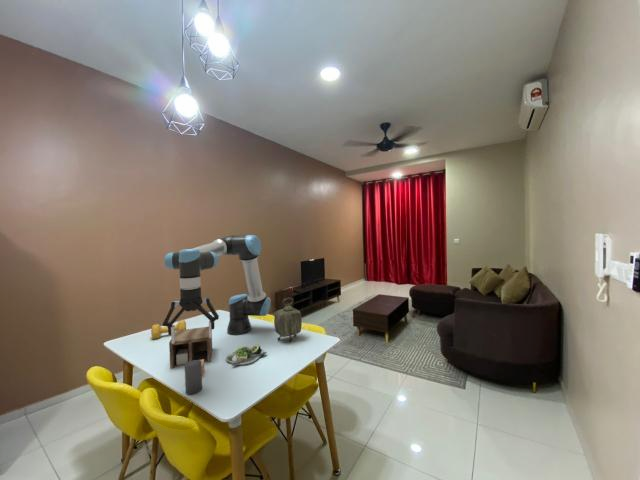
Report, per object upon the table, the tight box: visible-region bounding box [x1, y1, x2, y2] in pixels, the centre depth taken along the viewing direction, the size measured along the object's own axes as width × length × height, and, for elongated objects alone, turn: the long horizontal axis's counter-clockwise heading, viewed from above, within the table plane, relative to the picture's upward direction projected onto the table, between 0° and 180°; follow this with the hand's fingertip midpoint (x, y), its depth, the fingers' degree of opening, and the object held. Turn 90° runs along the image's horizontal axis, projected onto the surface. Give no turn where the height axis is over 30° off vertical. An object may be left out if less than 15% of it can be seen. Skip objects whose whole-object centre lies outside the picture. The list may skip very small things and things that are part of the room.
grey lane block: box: [175, 348, 189, 366], centre depth 129 cm, size 5×6×5 cm
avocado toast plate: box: [225, 344, 267, 367], centre depth 131 cm, size 19×18×5 cm
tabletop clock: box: [273, 297, 303, 342], centre depth 152 cm, size 14×9×25 cm, turn 122°
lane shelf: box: [168, 326, 213, 369], centre depth 133 cm, size 18×16×12 cm
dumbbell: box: [150, 319, 187, 340], centre depth 163 cm, size 19×9×8 cm, turn 117°
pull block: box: [184, 358, 205, 396], centre depth 111 cm, size 6×19×11 cm, turn 19°
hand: (192, 339), depth 104 cm, fingers open, 13 cm apart
